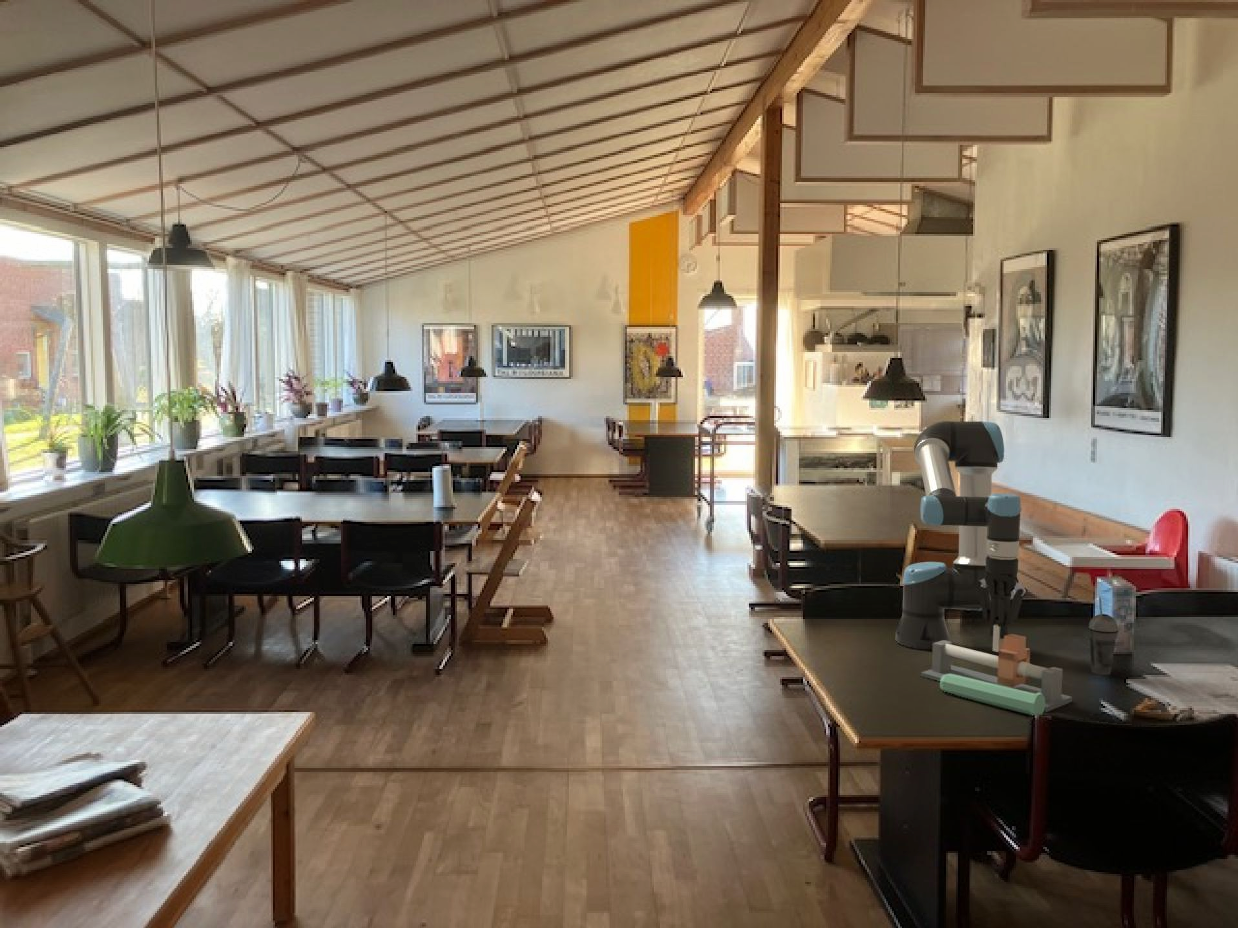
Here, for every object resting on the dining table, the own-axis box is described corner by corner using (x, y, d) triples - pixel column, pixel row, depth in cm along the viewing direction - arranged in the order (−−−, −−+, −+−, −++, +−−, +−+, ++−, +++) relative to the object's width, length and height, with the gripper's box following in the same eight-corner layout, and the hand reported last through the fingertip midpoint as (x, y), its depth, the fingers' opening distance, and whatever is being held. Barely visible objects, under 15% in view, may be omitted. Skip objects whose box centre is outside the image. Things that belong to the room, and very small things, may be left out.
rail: (921, 676, 262) (922, 644, 261) (947, 668, 269) (948, 636, 268) (1046, 712, 235) (1047, 676, 235) (1071, 701, 243) (1073, 666, 242)
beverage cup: (1119, 677, 262) (1123, 601, 260) (1089, 675, 264) (1093, 600, 262) (1112, 668, 269) (1115, 595, 267) (1082, 667, 271) (1086, 594, 269)
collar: (997, 682, 247) (999, 637, 246) (1013, 677, 252) (1015, 632, 251) (1012, 687, 244) (1014, 640, 243) (1028, 681, 249) (1030, 635, 248)
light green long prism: (938, 667, 250) (1036, 690, 231) (950, 672, 254) (1047, 695, 235) (933, 691, 249) (1031, 716, 230) (945, 695, 253) (1042, 720, 234)
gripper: (969, 554, 251) (966, 647, 253) (1018, 562, 241) (1014, 658, 243) (986, 551, 256) (983, 642, 258) (1035, 558, 245) (1030, 653, 248)
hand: (998, 650), depth 250 cm, fingers closed
